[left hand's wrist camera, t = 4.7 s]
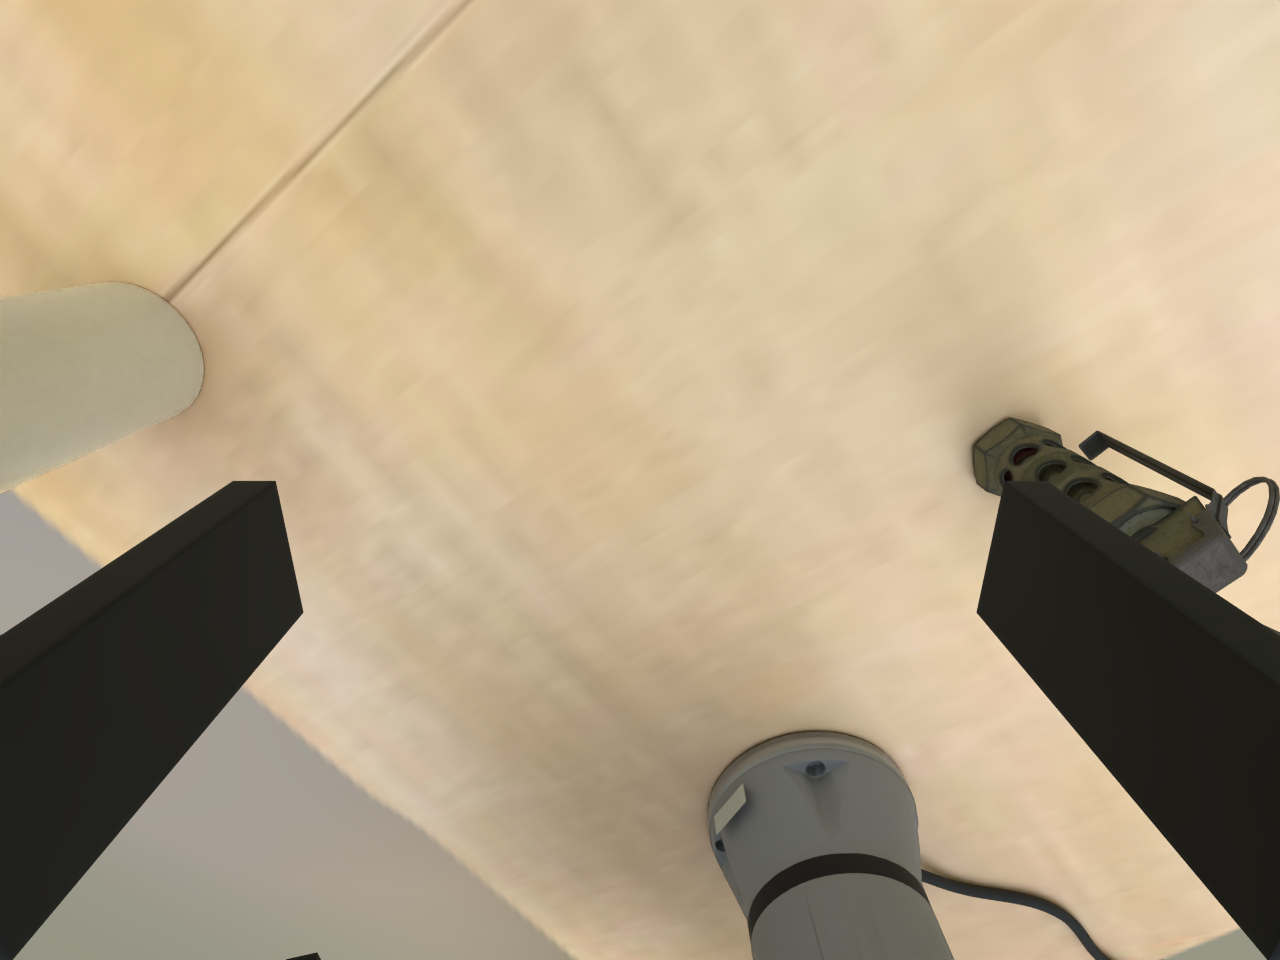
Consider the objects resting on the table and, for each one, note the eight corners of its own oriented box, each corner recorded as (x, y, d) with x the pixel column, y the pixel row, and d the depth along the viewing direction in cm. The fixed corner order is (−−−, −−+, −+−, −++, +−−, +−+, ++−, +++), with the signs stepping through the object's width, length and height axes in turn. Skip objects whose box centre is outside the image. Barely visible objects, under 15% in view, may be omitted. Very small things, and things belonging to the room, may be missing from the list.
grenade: (995, 529, 43) (1165, 681, 29) (942, 467, 42) (1094, 596, 28) (1121, 436, 41) (1369, 553, 27) (1069, 367, 39) (1304, 453, 25)
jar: (117, 250, 37) (-241, 278, 22) (233, 365, 40) (-19, 461, 24) (31, 342, 39) (-355, 425, 24) (147, 446, 41) (-138, 583, 26)
